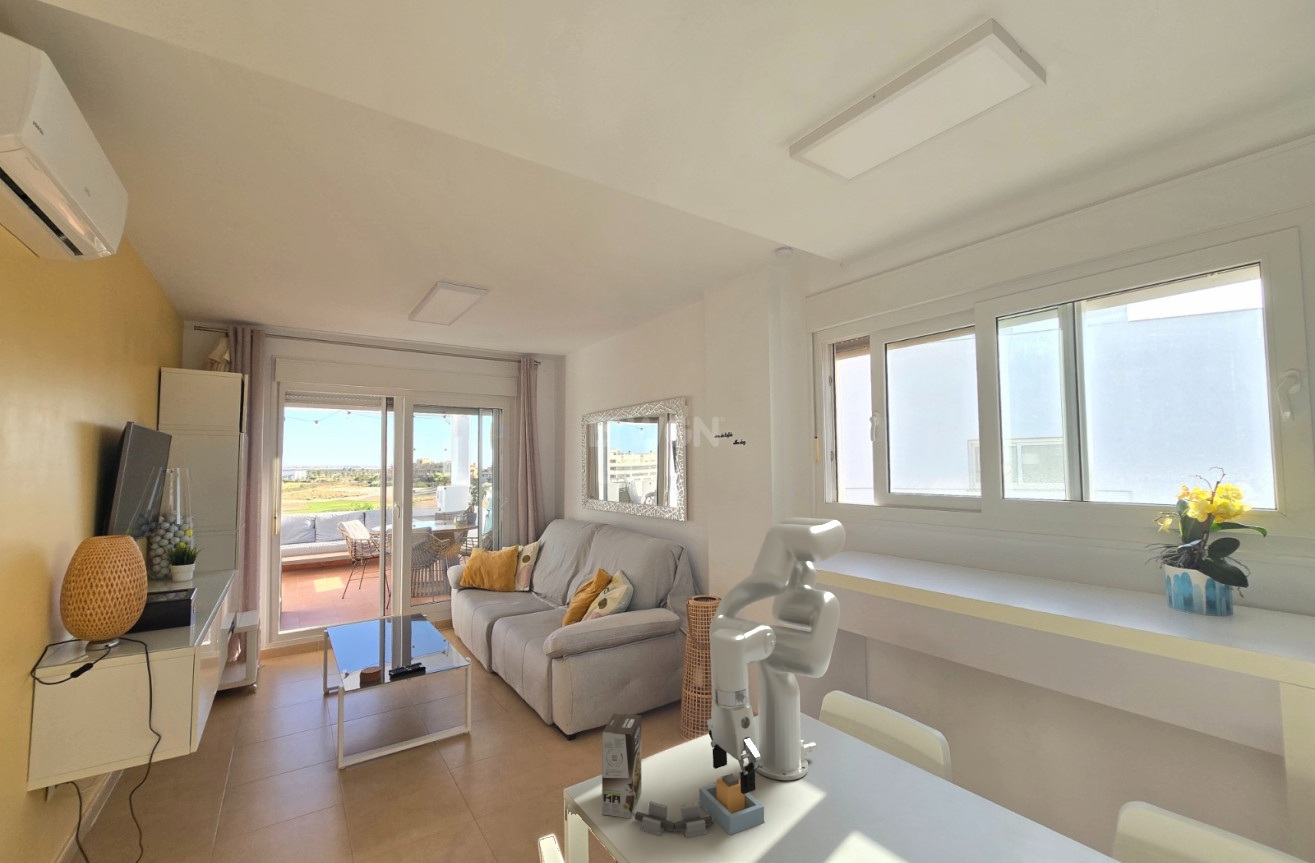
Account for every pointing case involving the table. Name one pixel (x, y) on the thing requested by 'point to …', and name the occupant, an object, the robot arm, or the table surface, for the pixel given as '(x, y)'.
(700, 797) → the frame
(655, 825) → the clip
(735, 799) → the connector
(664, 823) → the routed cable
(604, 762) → the coffee box
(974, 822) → the table surface
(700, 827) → the clip
